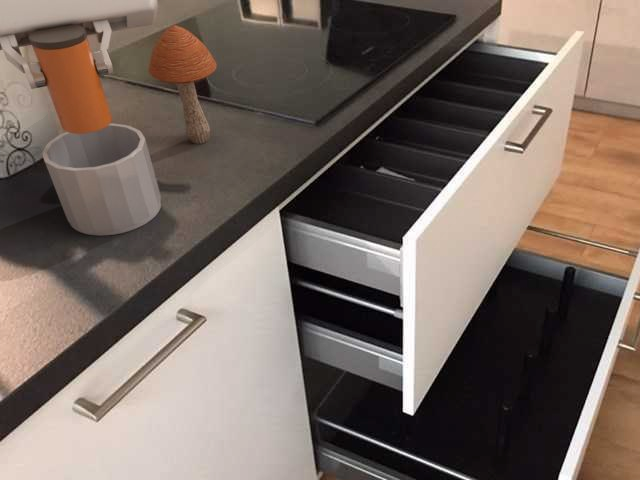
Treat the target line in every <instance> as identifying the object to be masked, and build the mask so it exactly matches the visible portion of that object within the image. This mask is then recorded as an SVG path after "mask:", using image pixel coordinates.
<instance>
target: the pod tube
mask: <svg viewBox="0 0 640 480" xmlns="http://www.w3.org/2000/svg"><path fill="white" fill-rule="evenodd" d="M29 40H30V43H31V45H30V46H32V50H33V52H34V54H35V57H36V60H37V62H38V63H39V65H40V67H41V70H42V73H43V74H44V77H45V80H46V83H47V86H46V88H47V90H48V92H49V95H50V98H51V101H52V103H53V107H54V110H55V112H56V115H57V118H58V120H59V123H60V126H61V128H62V130H63V131H65V132H69V133H74V134H84V133H91V132H95V131H98V130H101V129H103V128H105V127H107V126H108V125H109V124H112V122H113V121H112V120H113V117H112V114H111V111H110V107H109V104H108V102H107V101H108V100H107V98H106V97H107V96H106V95H105V92H104V89H103V85H102V81H101V78H100V76H99V75H98V72H97V69H96V66H95V62H94V59H93V55H92V49H91V45H90V42H89V39H88V36H87V34H86V31H85V29H84V28H83V27H82V26H79V25H73V24H70V25H64V26H58V27H51V28H45V29H39V30H35V31H34V32H32V33H31V34H30V35H29Z"/></svg>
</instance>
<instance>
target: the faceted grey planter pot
mask: <svg viewBox="0 0 640 480" xmlns="http://www.w3.org/2000/svg"><path fill="white" fill-rule="evenodd" d="M41 155H42V159H43V161H44V163H45V167H46V169H47V171H48V174H49V176H50V179H51V182H52V184H53V186H54V189H55V191H56V194H57V196H58V199H59V202H60V204H61V207H62V209H63V212H64V215H65V217H66V220H67V222H68V224H69V226H70V227H71V228H72V229H73V230H75V231H77V232H79V233H81V234H84V235H89V236H99V237H100V236H102V237H103V236H105V237H106V236H113V235H120V234H124V233H127V232H131V231H134V230H137V229H138V228H139V229H140V228H141V227H142V226H144V225H146V224H148V223H149V222H150V221H152V220H153V219H154V218H155V217H157V215H158V214H159V212H160V210H161V208H162V196H161V192H160V188H159V184H158V181H157V178H156V177H157V176H156V173H155V170H154V165H153V162H152V159H151V154H150V151H149V147H148V144H147V140H146V138H145V136H144V134H143V132H142V131H141V130H139V129H137V128H135V127H133V126H131V125H126V124H121V123H120V124H119V123H114V122H113V123H112V122H111V123H110V124H109V125H108V126H107V127H105V128H103V129H101V130H98V131H95V132H91V133H84V134H74V133H69V132H66V131H65V132H63V133H61V134H58V135H57V136H56V137H54V138H52V140H50V141H48V142H47V143H46V145H45V146H44V148H43V150H42V152H41Z"/></svg>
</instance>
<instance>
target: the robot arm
mask: <svg viewBox="0 0 640 480" xmlns="http://www.w3.org/2000/svg"><path fill="white" fill-rule="evenodd" d="M158 2H159V1H158V0H0V51H2V52H3V54H4V56H5V58H6V60H7V61H8V62H9V63H11V65H13V66H14V67H15V68H16V69H18V70H19V71H20V72H21V73H23V74H25V78H27V81H28V85H29V87H30V89H31V90H34V89H38V88H43V87H47V83H46V80H45V77H44V74H43V73H42V70H41V67H40V65H39V63H38V61H37V62H29V61H28V60H27V59H25V57H23V55H22V51H21V49H20V48H22V47H27V46H32V45H31V43H30V40H29V35H30V34H31V33H32V32H34V31H35V30H39V29H45V28H51V27H58V26H64V25H70V24H73V25H79V26H82V27H83V28H84V29H85V31H86V34H87V37H89V36H95V38H96V41H97V43H99V44H100V47H99V50H98V51H93V52H92V51H91V52H92V55H93V59H94V62H95V66H96V69H97V72H98V75H99V77H101V76H107V75H112V74H114V67H113V64H112V61H111V58H110V53H111V49H112V46H113V42H114V41H113V32H118V31H124V30H130V29H135V28H141V27H147V26H152V25H153V24H154V23H155V21H156V19H157V17H158V13H159V3H158Z"/></svg>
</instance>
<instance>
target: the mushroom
mask: <svg viewBox="0 0 640 480" xmlns="http://www.w3.org/2000/svg"><path fill="white" fill-rule="evenodd" d="M151 52H152V53H151V54H150V59H149V65H148V73H149V75H150V76H151V77H153V79H156V80H158V81H159V82H163V83H168V84H175V85H176V89H177V91H178V94H179V97H180V100H181V104H182V111H183V119H184V126H185V133H186V136H187V137H188V138H189V140H190V141H191V142H192V143H193V144H204V143H206V142H208V141H209V140H210V135H211V128H210V125H209V123H208V120H207V118H206V115H205V113H204V111H203V109H202V107H201V105H200V101H199V99H198V95H197V90H196V85H195V82H199V81H201V80H203V79H204V80H205V79H207V78H208V77H209V76H211V75H212V74H213V73H214V72H215V71H216V69H217V65H218V64H217V62H216V60H215V58H214V57H213V55H212V54H211V52H210V50H209V49H208V47H206V45H205V44H204V43H203V42H202V41H201V40H200V39H199V38H198V37H197V36H195V35H194V34H193V33H192V32H191V31H189V30H187V29H185V28H184V27H181V26H179V25H175V24H173V25H171V26H170V27H169V28H167V29H166V30H165V31H164V32H163V33H162V34H161V35H160V37H159V38H158V40H157V41H156V42H155V45H154V47H153V49H152V51H151Z"/></svg>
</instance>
